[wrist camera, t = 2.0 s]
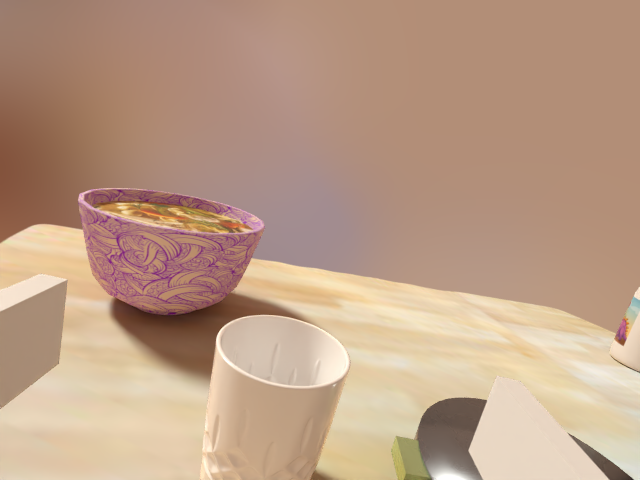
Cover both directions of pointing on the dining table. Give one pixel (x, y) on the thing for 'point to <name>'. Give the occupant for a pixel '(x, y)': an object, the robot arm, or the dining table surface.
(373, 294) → the dining table surface
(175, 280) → the bowl of food
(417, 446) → the stand
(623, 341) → the milk bottle
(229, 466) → the white cup
